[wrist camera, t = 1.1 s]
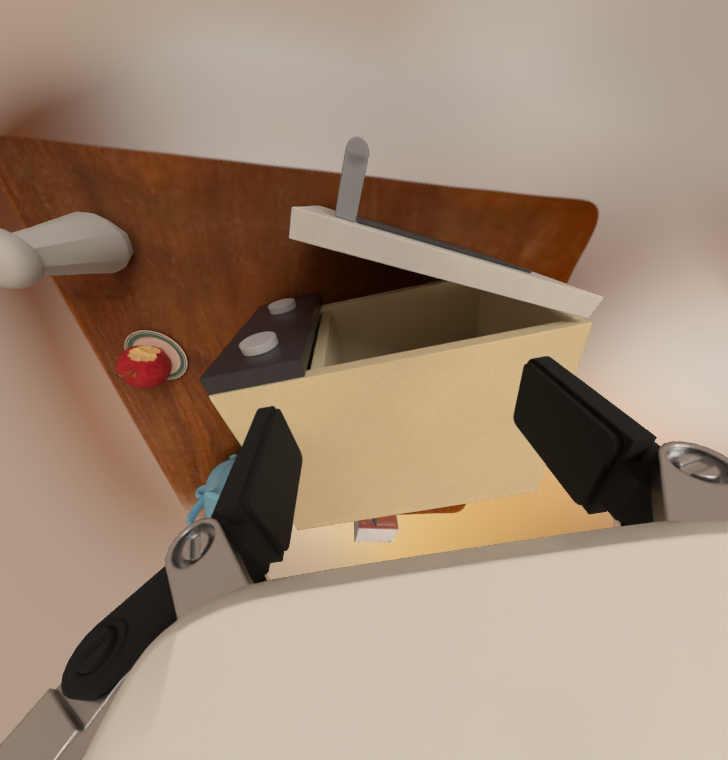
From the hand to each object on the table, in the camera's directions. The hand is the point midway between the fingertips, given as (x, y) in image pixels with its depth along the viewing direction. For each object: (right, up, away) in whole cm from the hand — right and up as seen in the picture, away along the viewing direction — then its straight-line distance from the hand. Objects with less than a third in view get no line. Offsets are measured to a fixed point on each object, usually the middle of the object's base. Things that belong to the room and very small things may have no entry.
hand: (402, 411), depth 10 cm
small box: (0, -23, +49) cm, 54 cm away
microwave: (+1, +5, +30) cm, 31 cm away
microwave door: (+4, +20, +20) cm, 29 cm away
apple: (-31, +5, +28) cm, 42 cm away
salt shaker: (-30, +17, +20) cm, 40 cm away
